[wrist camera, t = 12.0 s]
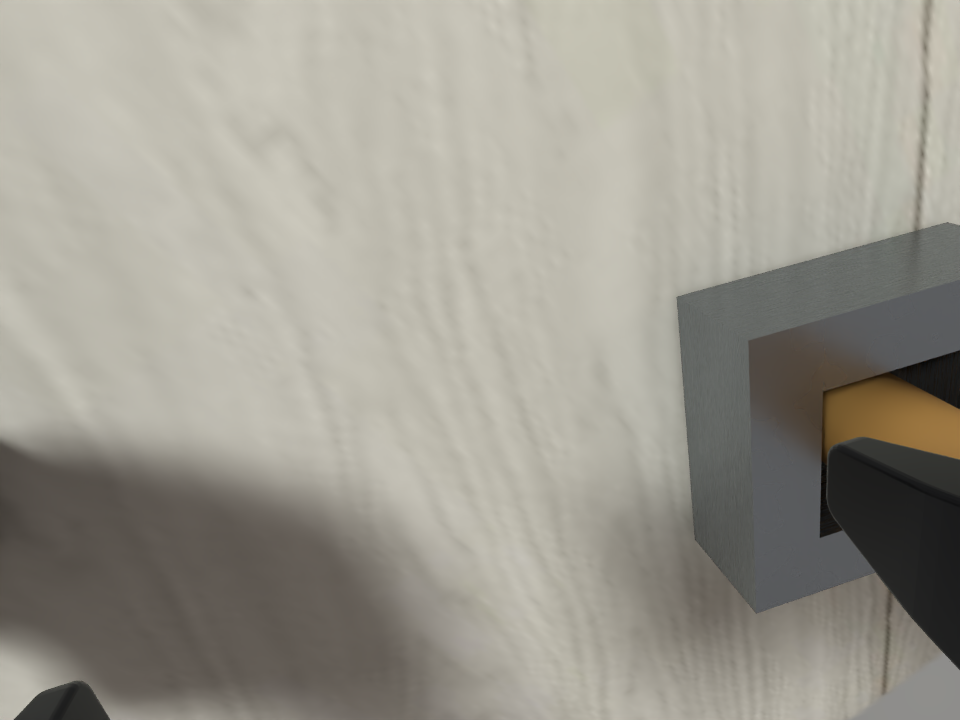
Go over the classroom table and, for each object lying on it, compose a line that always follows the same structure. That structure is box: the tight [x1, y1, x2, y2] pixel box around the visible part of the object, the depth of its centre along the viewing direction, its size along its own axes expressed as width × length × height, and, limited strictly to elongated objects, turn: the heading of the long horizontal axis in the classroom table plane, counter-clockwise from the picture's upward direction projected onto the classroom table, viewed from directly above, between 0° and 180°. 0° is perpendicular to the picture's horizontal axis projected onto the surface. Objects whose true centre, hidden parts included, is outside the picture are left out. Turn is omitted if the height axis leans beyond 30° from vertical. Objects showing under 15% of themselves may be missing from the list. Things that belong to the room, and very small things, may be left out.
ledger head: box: [677, 222, 960, 613], centre depth 24 cm, size 18×10×4 cm, turn 101°
